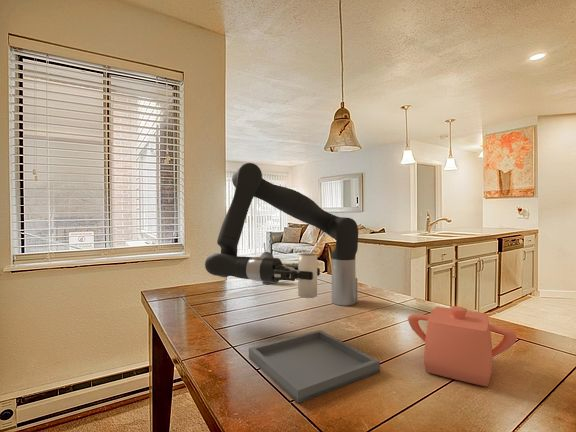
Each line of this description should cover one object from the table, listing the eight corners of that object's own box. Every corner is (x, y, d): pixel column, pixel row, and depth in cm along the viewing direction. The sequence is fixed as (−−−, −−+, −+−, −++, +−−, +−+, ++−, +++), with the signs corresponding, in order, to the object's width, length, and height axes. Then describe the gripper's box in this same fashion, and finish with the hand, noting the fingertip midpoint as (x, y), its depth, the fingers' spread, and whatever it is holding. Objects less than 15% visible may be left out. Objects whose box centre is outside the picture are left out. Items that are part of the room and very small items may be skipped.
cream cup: (310, 292, 98) (310, 252, 97) (320, 296, 93) (321, 254, 93) (294, 294, 95) (294, 253, 95) (305, 299, 90) (305, 256, 90)
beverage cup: (272, 285, 154) (271, 243, 154) (257, 284, 156) (257, 243, 155) (275, 282, 162) (275, 242, 161) (261, 281, 163) (261, 242, 163)
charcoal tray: (320, 338, 91) (320, 329, 91) (379, 372, 72) (379, 361, 72) (248, 357, 79) (248, 347, 79) (297, 403, 61) (297, 390, 61)
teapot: (519, 399, 62) (520, 327, 62) (401, 369, 74) (401, 308, 73) (512, 358, 79) (513, 301, 78) (417, 339, 90) (417, 289, 90)
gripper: (252, 260, 93) (307, 265, 86) (274, 254, 106) (323, 257, 99) (252, 286, 93) (307, 292, 86) (274, 276, 106) (323, 281, 99)
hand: (315, 273), depth 93 cm, fingers closed on cream cup, 5 cm apart
